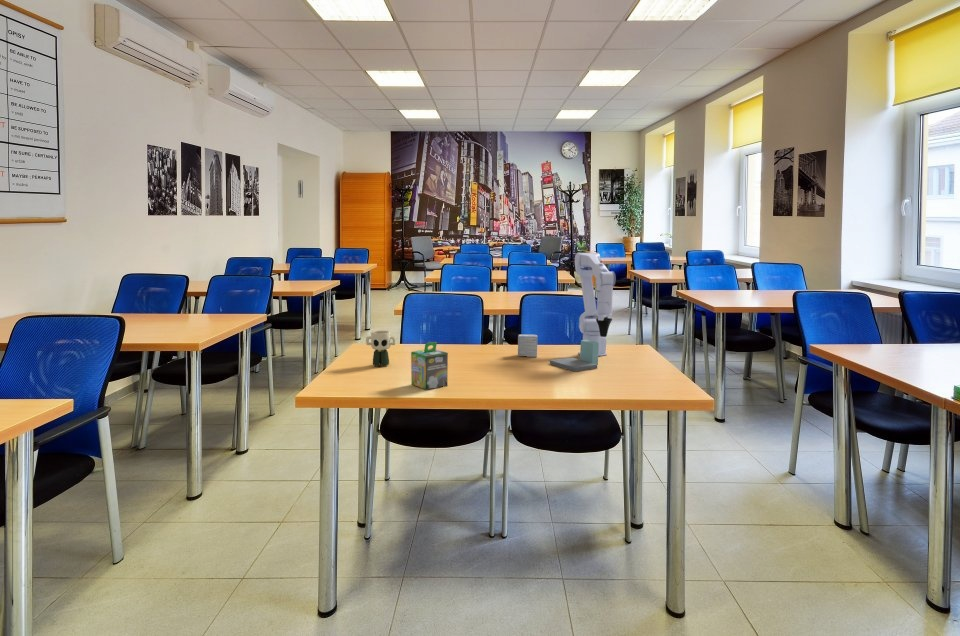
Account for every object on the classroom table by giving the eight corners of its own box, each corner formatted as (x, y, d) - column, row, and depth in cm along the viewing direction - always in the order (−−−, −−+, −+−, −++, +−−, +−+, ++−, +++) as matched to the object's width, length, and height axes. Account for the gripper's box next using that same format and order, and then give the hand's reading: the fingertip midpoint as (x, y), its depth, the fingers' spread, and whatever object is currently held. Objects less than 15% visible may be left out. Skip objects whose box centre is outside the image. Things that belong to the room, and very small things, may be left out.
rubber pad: (571, 361, 255) (571, 357, 255) (597, 368, 242) (597, 364, 242) (549, 363, 249) (549, 360, 249) (575, 371, 237) (575, 367, 236)
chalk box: (432, 380, 220) (432, 338, 218) (448, 386, 213) (448, 342, 211) (410, 384, 214) (410, 341, 212) (425, 390, 207) (425, 345, 205)
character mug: (365, 367, 238) (365, 333, 236) (367, 363, 245) (366, 330, 243) (394, 367, 238) (394, 333, 237) (396, 363, 245) (395, 330, 244)
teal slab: (585, 362, 254) (586, 339, 252) (597, 365, 248) (598, 342, 247) (579, 362, 252) (580, 340, 251) (592, 366, 246) (593, 343, 245)
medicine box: (537, 355, 265) (537, 334, 264) (536, 357, 261) (537, 336, 260) (518, 354, 266) (518, 334, 265) (517, 356, 262) (518, 336, 260)
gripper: (598, 300, 258) (597, 333, 260) (590, 303, 245) (589, 338, 247) (616, 301, 256) (614, 334, 257) (609, 304, 242) (607, 339, 244)
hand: (603, 336), depth 252 cm, fingers closed
